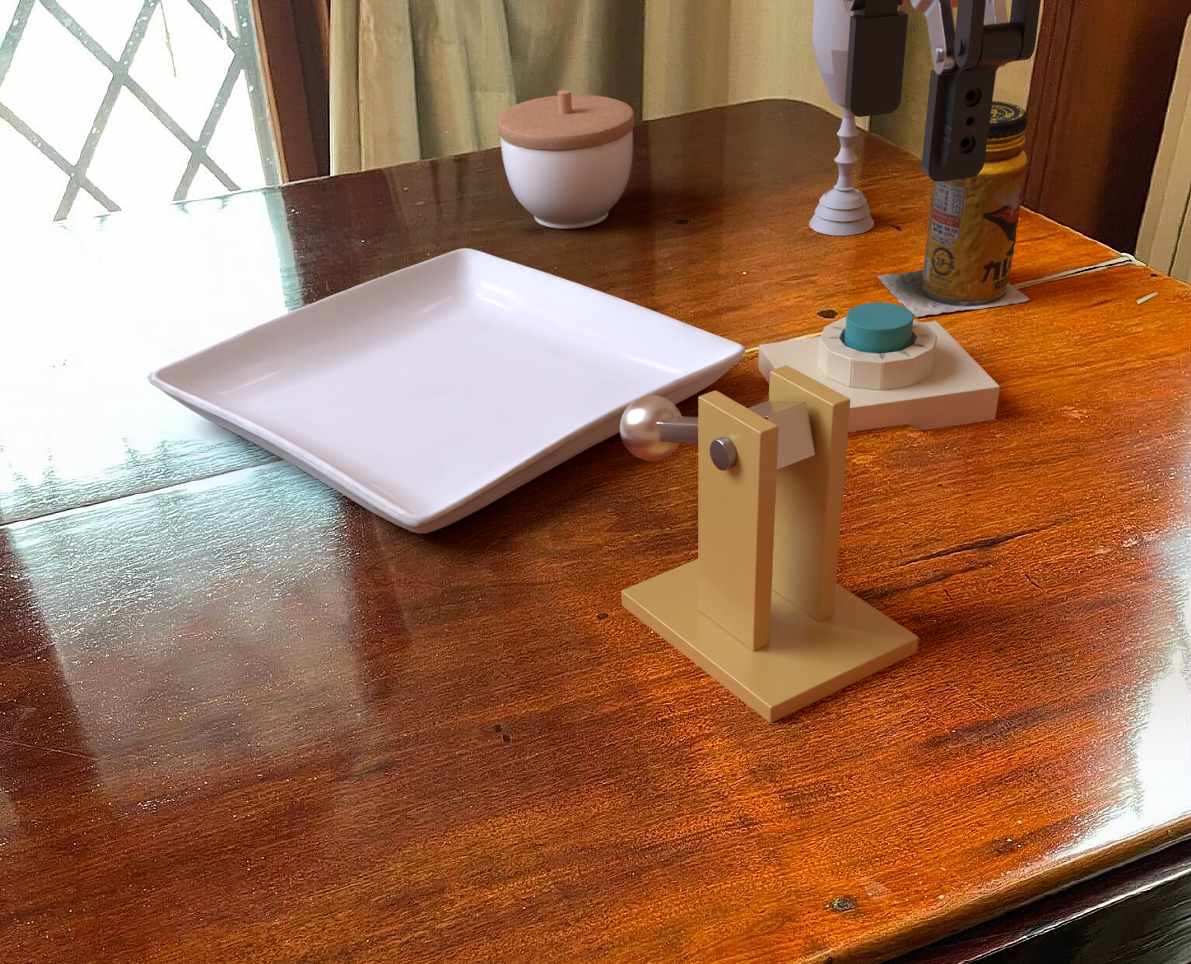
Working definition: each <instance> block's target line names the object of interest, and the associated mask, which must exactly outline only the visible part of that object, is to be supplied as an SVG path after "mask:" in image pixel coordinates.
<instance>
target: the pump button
mask: <svg viewBox="0 0 1191 964" xmlns="http://www.w3.org/2000/svg"><path fill="white" fill-rule="evenodd" d="M845 317H846V327H845V346H847V347H849V348H852V349H855V350H857V351H860V352H867V353H878V354H883V353H890V352H897V351H902V350H904V349H906V348H908V347H910V345H911V337H912V328H913V320H914V319H915V318H914V314H913V313H912V312H911V311H910V310H908V309H907V308H906V307H905V306H904V305H903V306H902V305H900V304H897V303H896V304H895V303H891V302H868V303H862V304H859V305H856V306H853V307H852V308H850V309H849V310H848V311H847V313H846V316H845Z"/></svg>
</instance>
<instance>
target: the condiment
mask: <svg viewBox="0 0 1191 964" xmlns="http://www.w3.org/2000/svg"><path fill="white" fill-rule="evenodd" d="M1028 122H1029V120H1028V114H1027V111H1026V110H1025V109H1024V108H1023V107H1021V106H1019V105H1018V104H1014V103H1011V102H1007V101H999V100H998V101H997V100H992V108H991V115H990V123H989V131H988V139H987V146H986V154H985V162H984V166H983V168H982V170H981V171H980V173H979V174H977V175H976V176H974V177H972V178H965V179H957V180H949V181H941V182H936V181H933V180H932V185H931V194H930V204H929V211H928V221H927V229H926V230H927V231H926V240H925V246H924V247H925V249H924V257H923V266H922V268H923V269H918V270H914V271H908V272H907V271H906V272H903V273H900V272H899V273H886V274H879V275H876V277H877V278H878V279H879V281H880V283H881V284H882V285H883V286H884V287H885V288H886V289H887V290H888V291H889V293H890V294H891V295H893V296H894V297H895V299H897V302H898V303H899V304H902V305H903V307H905V308H907V309H908V310H910V311H911V312H912V314H913V316H915V317H916V318H919V317H925V316H929V315H930V316H931V315H940V314H942V313H951V312H952V313H953V312H957V311H965V310H967V311H968V310H980V309H987V308H993V307H1000V306H1008V305H1011V304H1015V305H1016V304H1020V303H1025V302H1028V301H1030V300H1031V298H1029V297H1028V296H1027V295H1026V294H1025V293H1022V292H1021V291H1020V290H1019V289H1017V288H1016V287H1014V285H1012V284H1010V276H1011V269H1012V267H1013V265H1012V264H1013V258H1014V255H1015V245H1016V239H1017V230H1018V223H1019V217H1020V210H1021V204H1022V197H1023V190H1024V185H1025V184H1024V183H1025V179H1026V173H1027V165H1028V164H1027V163H1028V156H1027V153H1026V152H1025V150H1024V149H1023V147H1024V145H1025V144H1026V137H1025V134H1026V130H1027V125H1028Z"/></svg>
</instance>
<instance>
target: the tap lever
mask: <svg viewBox="0 0 1191 964" xmlns="http://www.w3.org/2000/svg"><path fill="white" fill-rule="evenodd" d="M748 409H749V410H751V411H753V412H755V413H756V414H758V415H760V416H761V417H763V418H765V419H767V420H768V421H770V422H772V423H774V424H775V425H777V426H778V427H779V429H778V452H777V470H780V469H782V468H785V467H787V466H790V465H792V464H795V463H797V462H800V461H802V460H805V459H807V458H810V457H812V456H815V449H814V444H813V438H812V432H811V426H810V421H809V415H808V409H807V403H806V402H790V401H769V400H766V401H764V402H761V403H758V404H756V405H752V406H750V407H748ZM619 434H620V438H621V440H622V443H623V445H624V448H625V449H627V451H628V452H629V453H630V454H631V455H633V456H634V457H636V458H638V459H640V460H642V461H647V462H648V461H650V462H655V461H660V460H663V459H665V458H667V457H669V456H670V455H671V454H673V453H674V452H675V451H676V449H677V448H678V447H679V445H680V444H687V445H698V416H682V414H681V412H680V410H679V408H678V407H677V405H676V404H675V405H674V404H673V403H672V402H671V401H669V400H668V399H666V398H664V397H661V396H657V395H647V396H643V397H640V398H638V399H636V400H635V401H633V402H632V403H631V404H630V405H629V406H628V407H627V408H626V410H625V411H624V413H623V415H622V418H621V422H620V432H619Z"/></svg>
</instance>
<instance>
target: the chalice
mask: <svg viewBox="0 0 1191 964" xmlns="http://www.w3.org/2000/svg"><path fill="white" fill-rule="evenodd" d="M899 10H900V6H898V11H899ZM812 16H813V17H812V32H811V33H812V35H811V44H812V47H813V51H814V55H815V59H816V64H817V67H818V71H819V72H820V75H821V78H822V81H823V83H824V86H825V88H826V91H827V94H828V96H829V99H830V101H831V102H832V103H834V104H835V105H838V106H840V107H841V111H842V113H841V114H842V120H841V124H840V128H839V130H838V131H837V132H836V135H837V137H838V138H839V144H840V149H839V151H838V152H839V153H838V154H837V155H836V156H835V157H834V159H833V161H834V162H835V163H836V165H837V169H838V177H837V178H838V179H837V182H836V184H835V185H833V188H831V189H829V190H827V191H825V192H824V193H823V194H822V196H821V197H820V198H819V201H818V202H819V203H818V204H817V206H816V207H815V209H814V214H813V216H812V217H811V219H810V220H809V224H808V226H809V227H810V228H811V229H812V230H813V231H814V232H817V233H820V234H823V235H828V236H839V237H840V236H841V237H843V236H844V237H845V236H855V235H859V234H860V235H861V234H864V233H866V232H868V231H870V230H871V229H873V228H874V226H875V221H874V220H873V218H872V216H871V209H870V207H869V205H868V204H867V203H868V199H867V198H866V196H865V195H864V194H863V192H862V191H860V190H859V189H856V187H855V185H854V184H853V182H852V171H853V167H854V164H856V163H857V161H858V157H857V156H856V155H855V151H854V143H855V141H856V138H857V136H858V135H859V130H857V125H856V116H855V115H854V114H852V113H851V112H850V111H849V110H848V109H847V108H846V106H845V92H846V76H847V61H848V45H849V29H850V16H854V11H851V12H847V11H846V10H845V7H844V2H843V0H813V15H812Z"/></svg>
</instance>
